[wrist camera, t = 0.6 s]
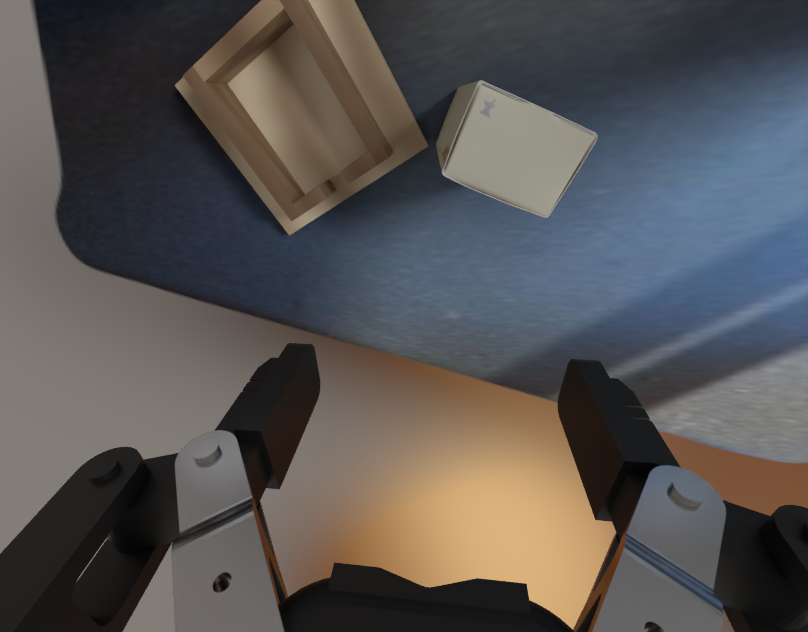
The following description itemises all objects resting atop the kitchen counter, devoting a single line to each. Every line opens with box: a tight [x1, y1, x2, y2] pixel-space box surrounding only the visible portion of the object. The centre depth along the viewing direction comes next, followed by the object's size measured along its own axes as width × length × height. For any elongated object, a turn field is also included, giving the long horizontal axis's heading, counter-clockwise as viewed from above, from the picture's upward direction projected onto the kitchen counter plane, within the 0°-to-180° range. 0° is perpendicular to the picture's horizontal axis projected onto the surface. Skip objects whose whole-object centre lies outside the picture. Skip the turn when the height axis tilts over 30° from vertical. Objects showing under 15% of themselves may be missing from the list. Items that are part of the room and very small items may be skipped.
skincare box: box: [436, 80, 598, 218], centre depth 22 cm, size 6×4×12 cm
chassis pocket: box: [175, 0, 429, 235], centre depth 26 cm, size 14×13×4 cm
